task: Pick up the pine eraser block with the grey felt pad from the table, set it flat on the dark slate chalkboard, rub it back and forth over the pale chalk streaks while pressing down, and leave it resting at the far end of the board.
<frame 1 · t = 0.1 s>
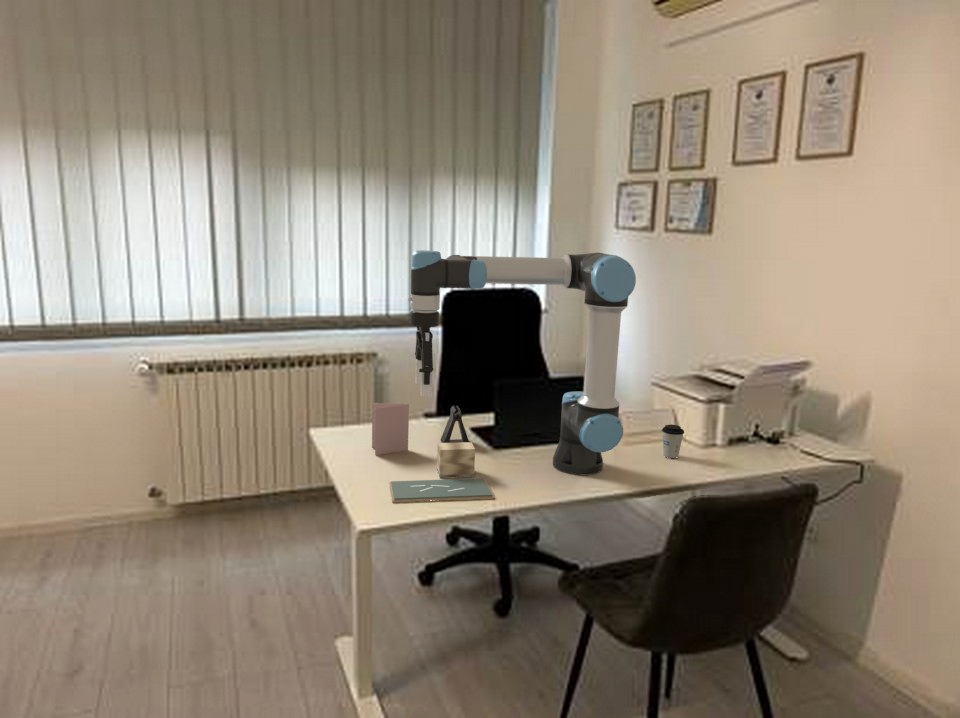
hand: (423, 389, 196), 28 cm above the table, tool pointing down, fingers open, 13 cm apart
phone stand: (455, 444, 240), on the table
greeting card: (388, 452, 229), on the table
eraser block: (455, 473, 213), on the table
coffee cup: (670, 457, 235), on the table
chalkboard: (440, 491, 200), on the table
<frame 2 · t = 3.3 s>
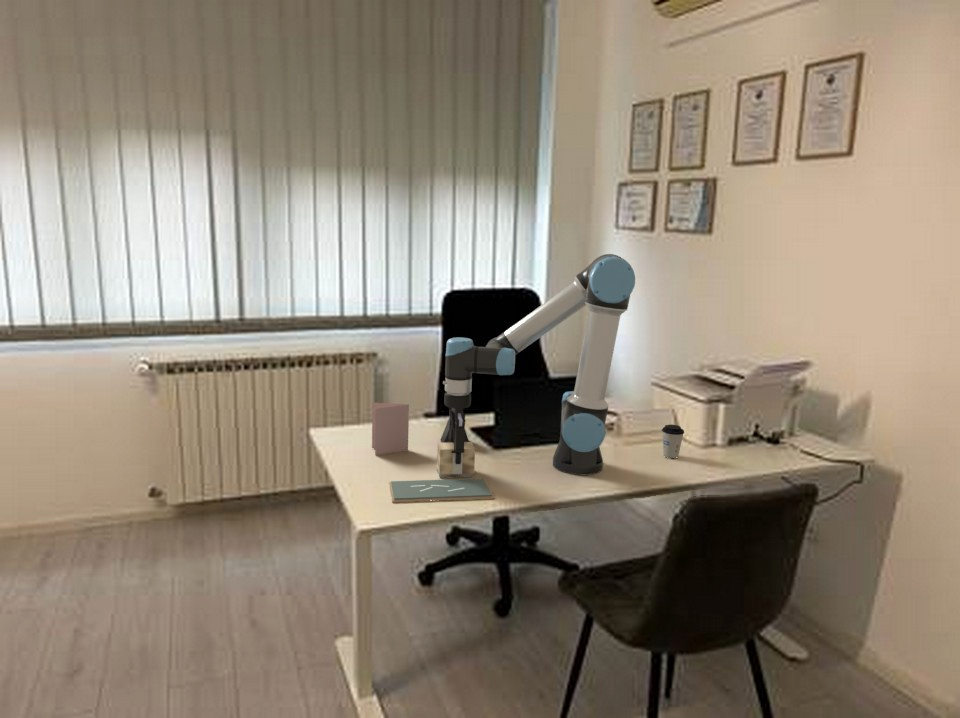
hand: (455, 469, 213), 1 cm above the table, tool pointing down, fingers closed on eraser block, 6 cm apart
eraser block: (455, 473, 213), on the table, touching gripper
everything else where it was.
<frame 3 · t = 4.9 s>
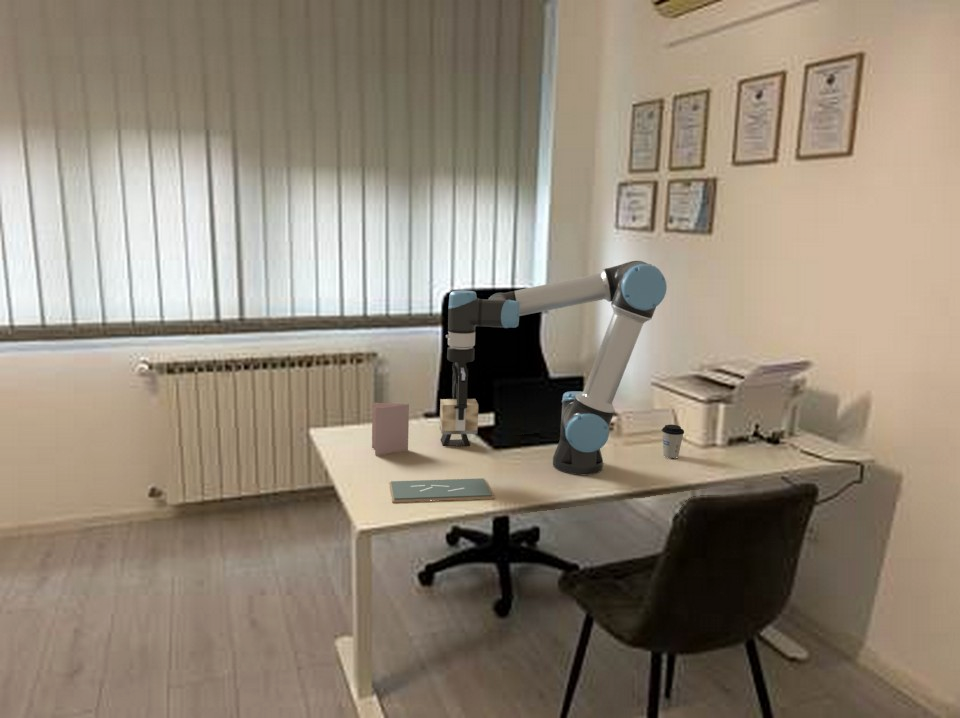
hand: (458, 426, 208), 15 cm above the table, tool pointing down, fingers closed on eraser block, 6 cm apart
eraser block: (458, 430, 209), point 14 cm above the table, touching gripper
everything else where it was.
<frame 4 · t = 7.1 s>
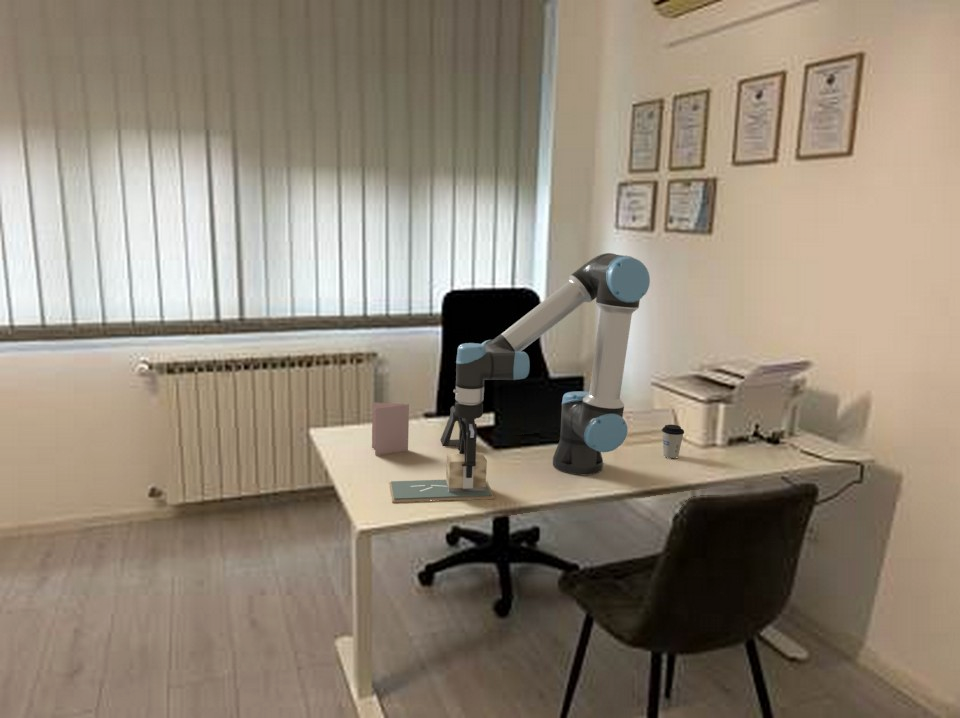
hand: (465, 483, 200), 2 cm above the table, tool pointing down, fingers closed on eraser block, 6 cm apart
eraser block: (465, 487, 201), point 1 cm above the table, touching chalkboard, gripper
everything else where it was.
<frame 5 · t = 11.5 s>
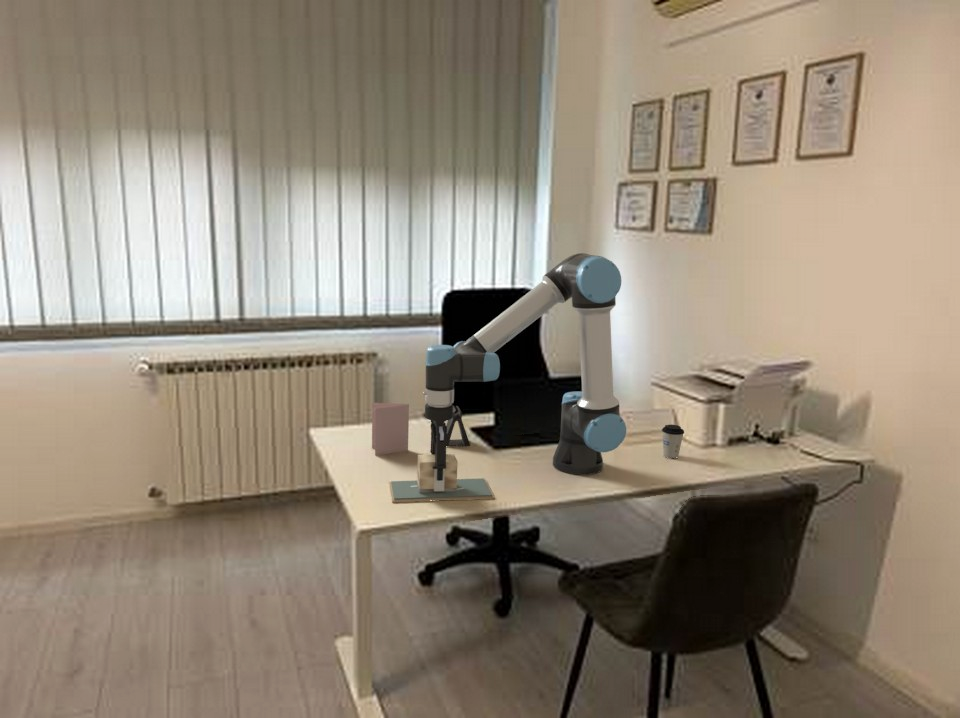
hand: (437, 485, 199), 2 cm above the table, tool pointing down, fingers closed on eraser block, 6 cm apart
eraser block: (436, 487, 199), point 1 cm above the table, touching gripper
everything else where it was.
when the fingers open (2 cm above the table, at t = 16.0 s): eraser block stays where it is, resting on chalkboard.
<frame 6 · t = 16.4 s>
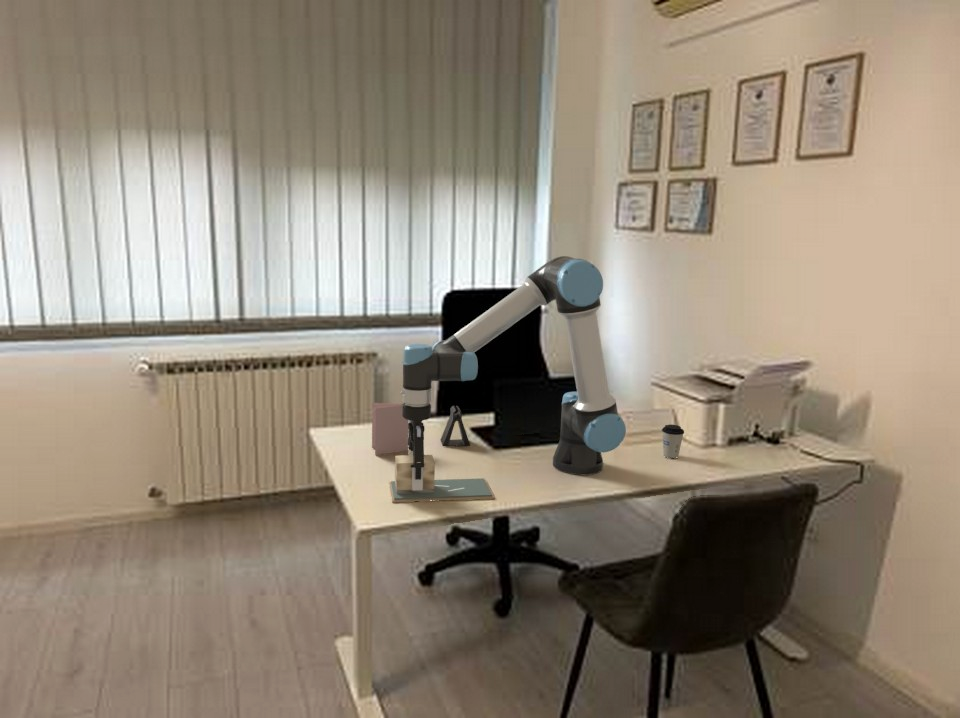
hand: (415, 481, 198), 3 cm above the table, tool pointing down, fingers open, 11 cm apart
eraser block: (414, 488, 198), point 1 cm above the table, touching chalkboard
everything else where it was.
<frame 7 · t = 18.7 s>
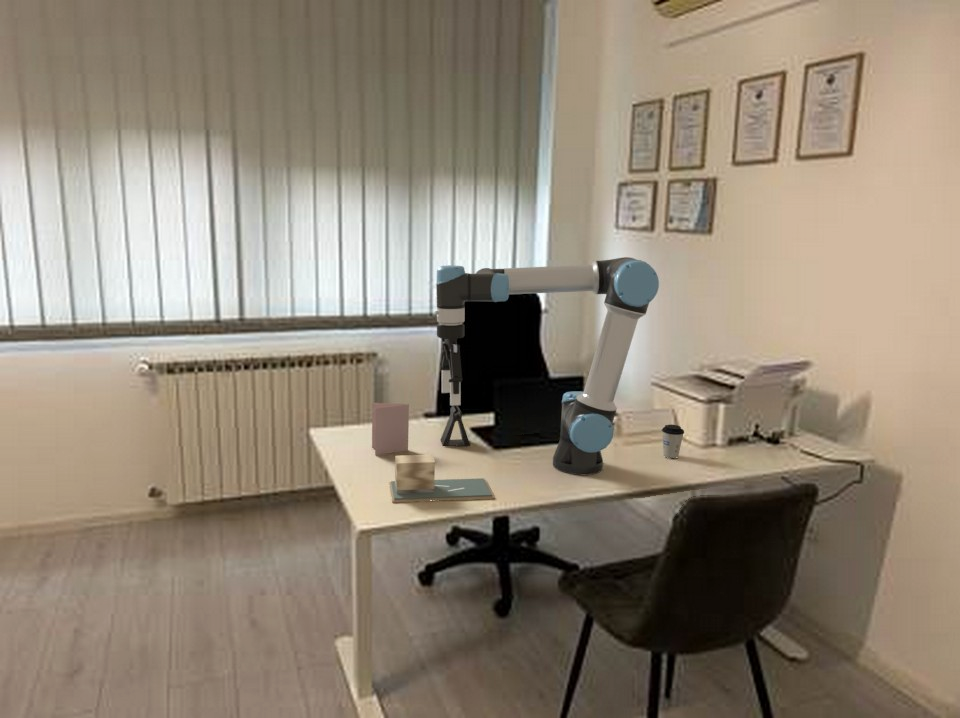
hand: (450, 398, 204), 24 cm above the table, tool pointing down, fingers open, 13 cm apart
nothing on the table moved.
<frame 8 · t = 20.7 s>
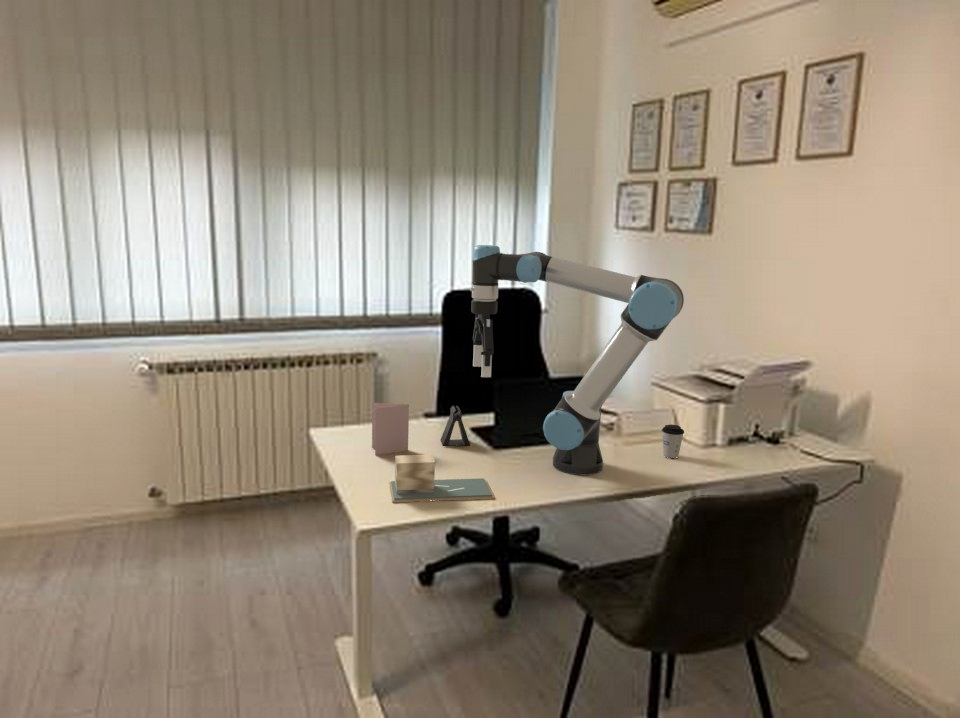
hand: (481, 371, 216), 29 cm above the table, tool pointing down, fingers open, 13 cm apart
nothing on the table moved.
at the end: eraser block inside the target area on the chalkboard (0.2 cm from its centre), point 1.0 cm above the chalkboard's base; eraser block tilted 0°; the gripper is holding nothing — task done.
